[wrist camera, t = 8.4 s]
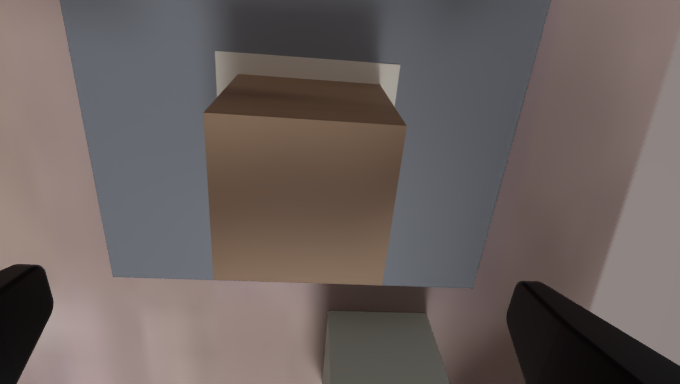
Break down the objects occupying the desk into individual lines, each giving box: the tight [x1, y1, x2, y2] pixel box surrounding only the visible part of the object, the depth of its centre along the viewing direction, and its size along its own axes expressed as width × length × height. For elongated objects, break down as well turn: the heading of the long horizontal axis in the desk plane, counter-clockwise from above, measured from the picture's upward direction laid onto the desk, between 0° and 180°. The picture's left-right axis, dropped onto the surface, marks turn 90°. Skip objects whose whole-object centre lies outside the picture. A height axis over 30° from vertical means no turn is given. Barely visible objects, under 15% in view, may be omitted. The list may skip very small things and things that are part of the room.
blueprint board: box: [60, 0, 551, 288], centre depth 16 cm, size 13×16×1 cm
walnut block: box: [203, 74, 407, 285], centre depth 14 cm, size 5×5×5 cm
